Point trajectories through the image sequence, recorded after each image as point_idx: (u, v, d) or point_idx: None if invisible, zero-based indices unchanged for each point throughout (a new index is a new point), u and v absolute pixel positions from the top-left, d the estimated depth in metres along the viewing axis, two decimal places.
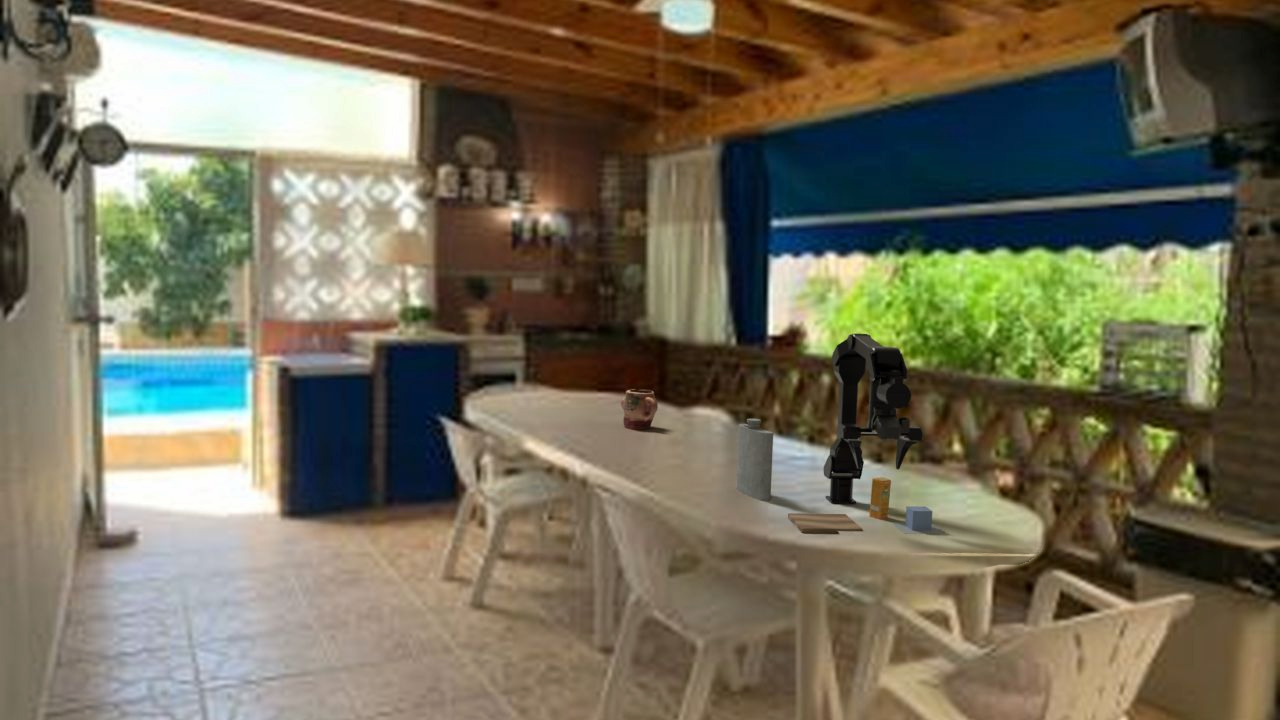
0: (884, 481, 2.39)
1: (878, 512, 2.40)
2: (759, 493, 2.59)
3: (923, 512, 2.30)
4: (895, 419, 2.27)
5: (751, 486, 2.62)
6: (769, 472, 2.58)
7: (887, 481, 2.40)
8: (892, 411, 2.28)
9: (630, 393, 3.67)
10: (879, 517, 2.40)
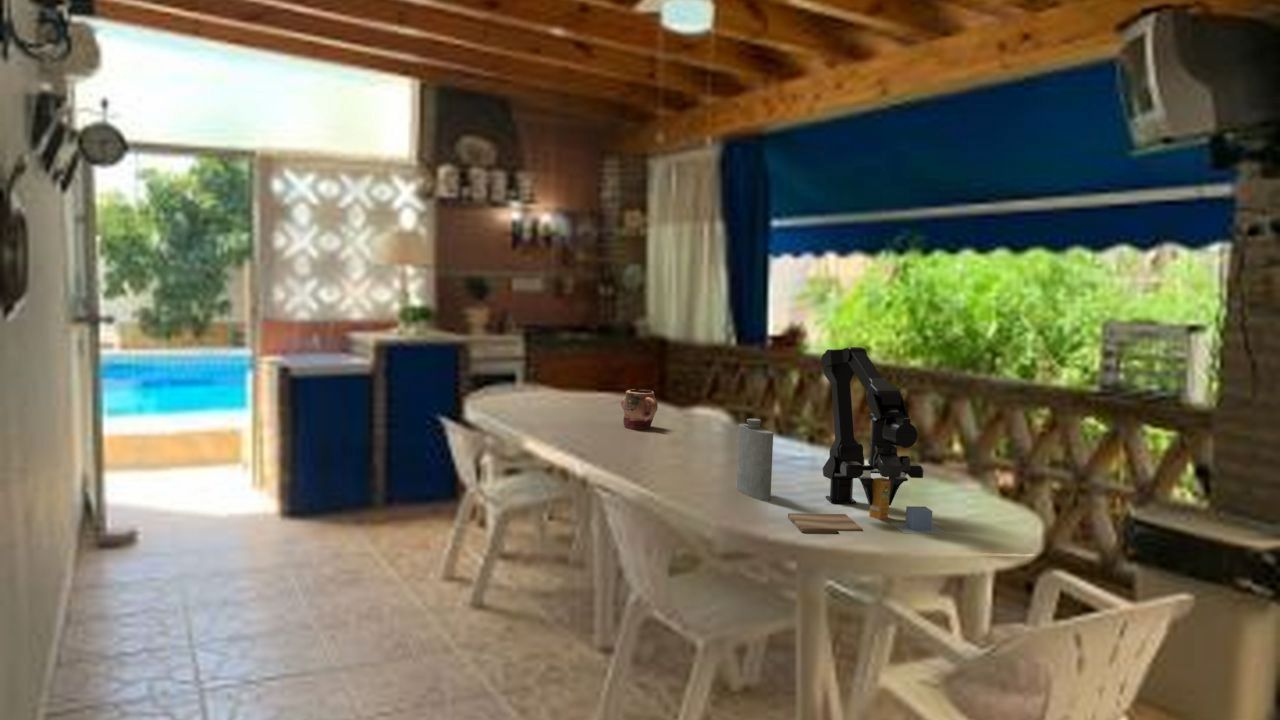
0: (884, 481, 2.39)
1: (878, 512, 2.40)
2: (759, 493, 2.59)
3: (923, 512, 2.30)
4: (896, 457, 2.35)
5: (751, 486, 2.62)
6: (769, 472, 2.58)
7: (887, 481, 2.40)
8: (893, 450, 2.37)
9: (630, 393, 3.67)
10: (879, 517, 2.40)
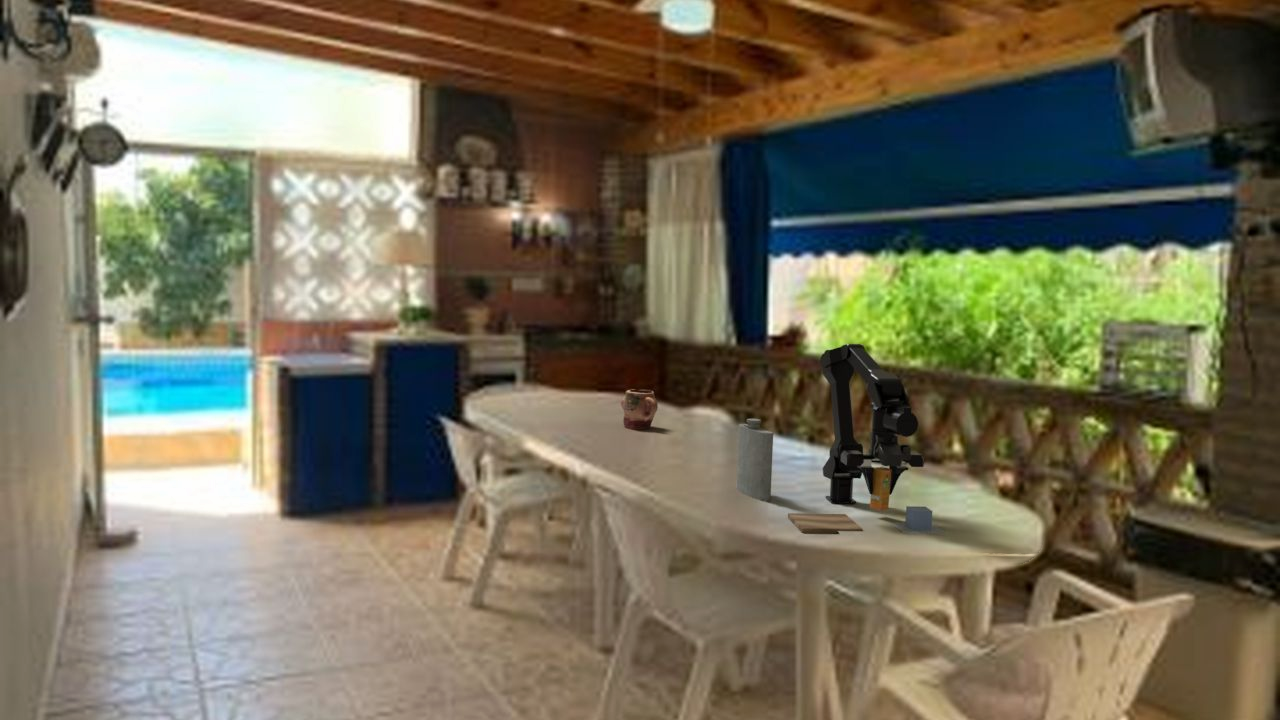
0: (885, 470, 2.39)
1: (878, 501, 2.40)
2: (759, 493, 2.59)
3: (923, 512, 2.30)
4: (897, 446, 2.35)
5: (751, 486, 2.62)
6: (769, 472, 2.58)
7: (888, 470, 2.39)
8: (894, 439, 2.37)
9: (630, 393, 3.67)
10: (880, 506, 2.40)
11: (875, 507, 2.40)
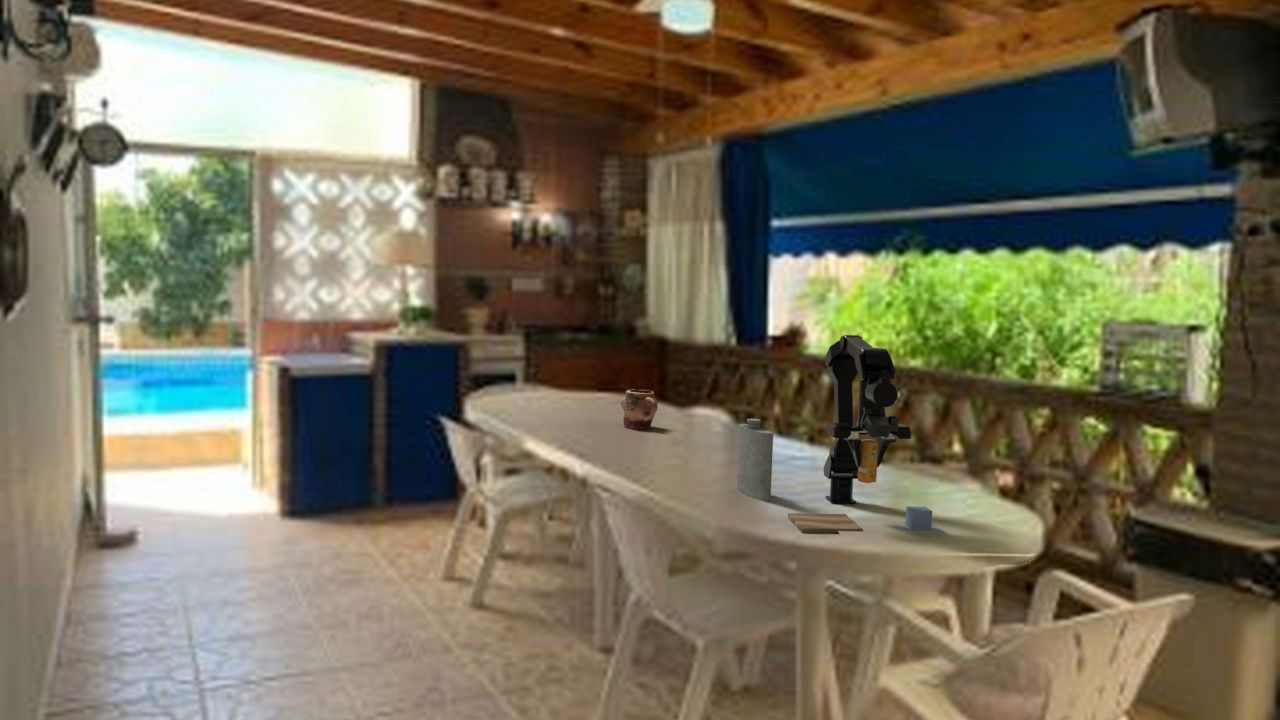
0: (872, 442, 2.36)
1: (866, 474, 2.37)
2: (759, 493, 2.59)
3: (923, 512, 2.30)
4: (884, 418, 2.33)
5: (751, 486, 2.62)
6: (769, 472, 2.58)
7: (875, 442, 2.37)
8: (881, 410, 2.34)
9: (630, 393, 3.67)
10: (867, 479, 2.37)
11: (863, 480, 2.38)
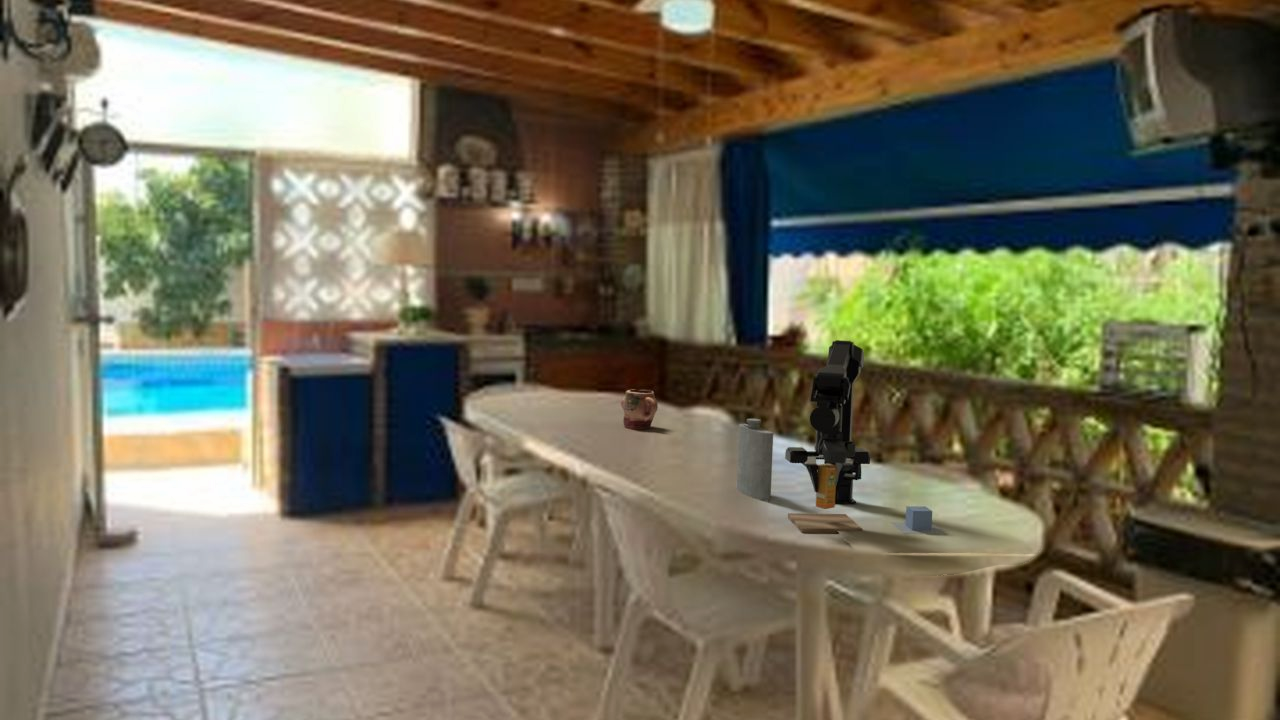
0: (829, 467, 2.32)
1: (824, 499, 2.32)
2: (759, 493, 2.59)
3: (923, 512, 2.30)
4: (841, 443, 2.28)
5: (751, 486, 2.62)
6: (769, 472, 2.58)
7: (833, 467, 2.32)
8: (838, 435, 2.30)
9: (630, 393, 3.67)
10: (825, 505, 2.32)
11: (821, 506, 2.33)
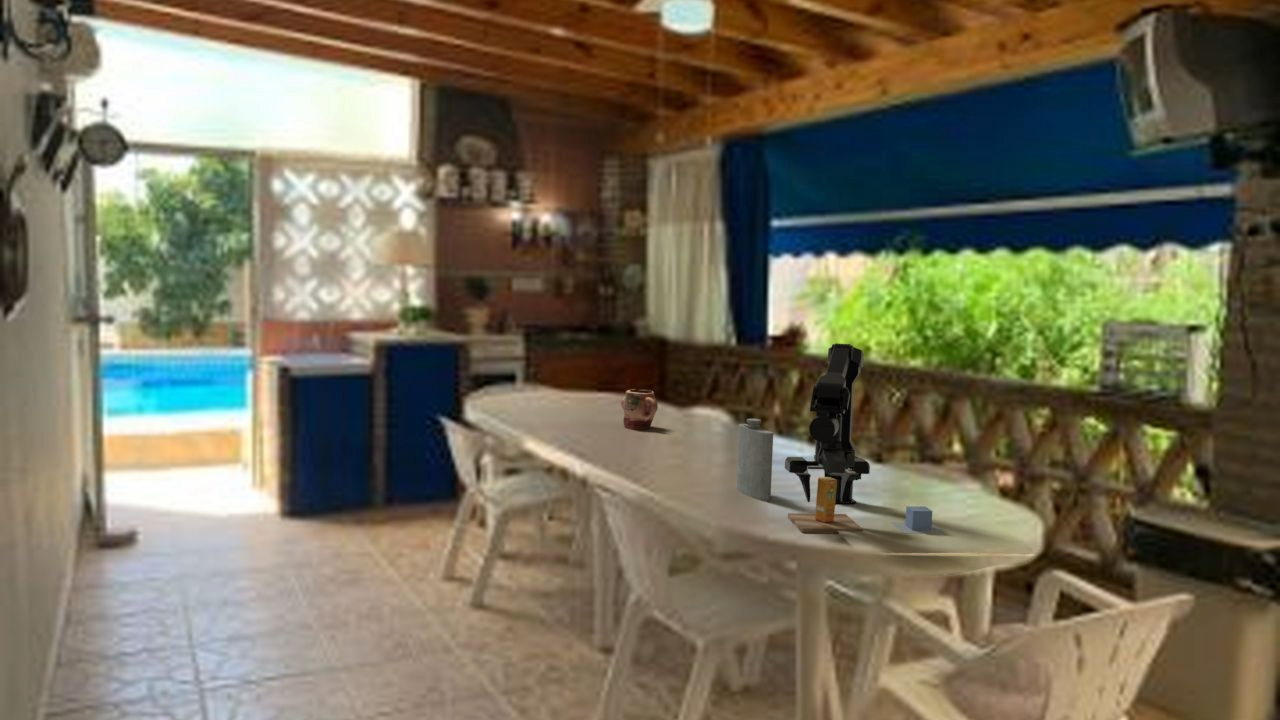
0: (829, 481, 2.32)
1: (823, 512, 2.33)
2: (759, 493, 2.59)
3: (923, 512, 2.30)
4: (841, 453, 2.28)
5: (751, 486, 2.62)
6: (769, 472, 2.58)
7: (833, 481, 2.33)
8: (838, 445, 2.30)
9: (630, 393, 3.67)
10: (824, 518, 2.33)
11: (820, 519, 2.34)
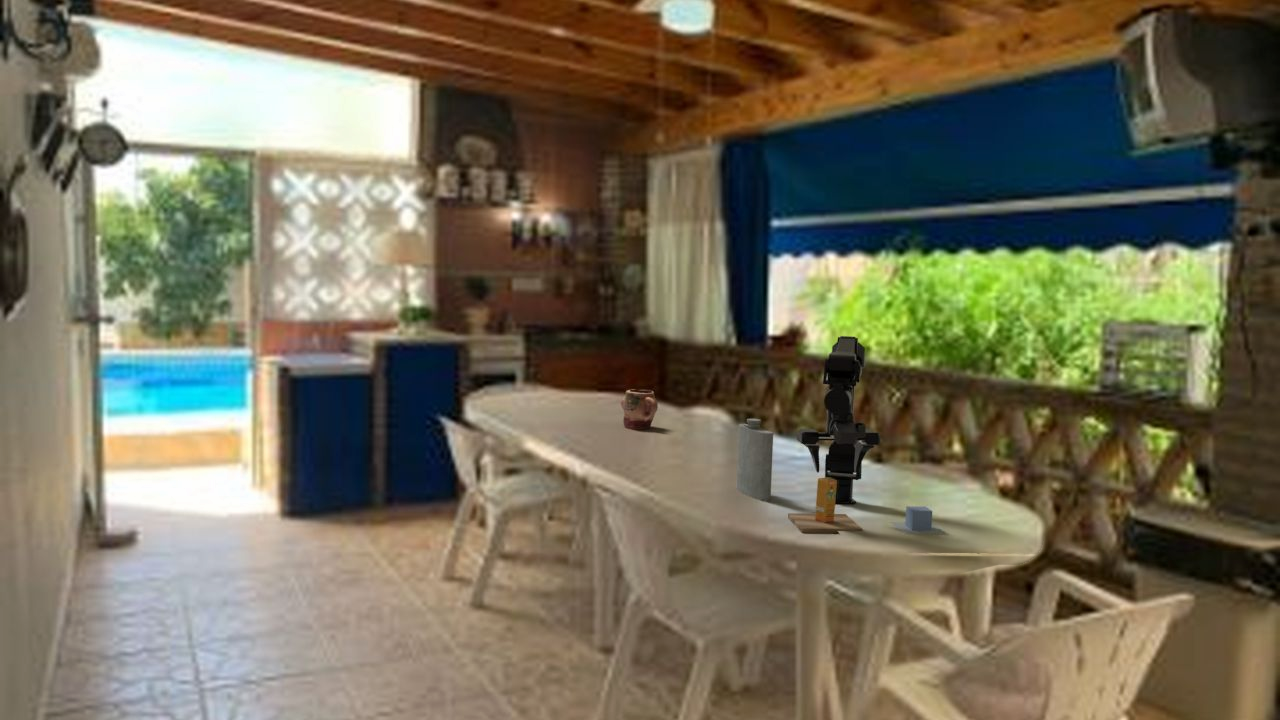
0: (829, 481, 2.32)
1: (823, 513, 2.33)
2: (759, 493, 2.59)
3: (923, 512, 2.30)
4: (852, 424, 2.33)
5: (751, 486, 2.62)
6: (769, 472, 2.58)
7: (832, 481, 2.32)
8: (849, 416, 2.35)
9: (630, 393, 3.67)
10: (824, 518, 2.33)
11: (820, 519, 2.34)
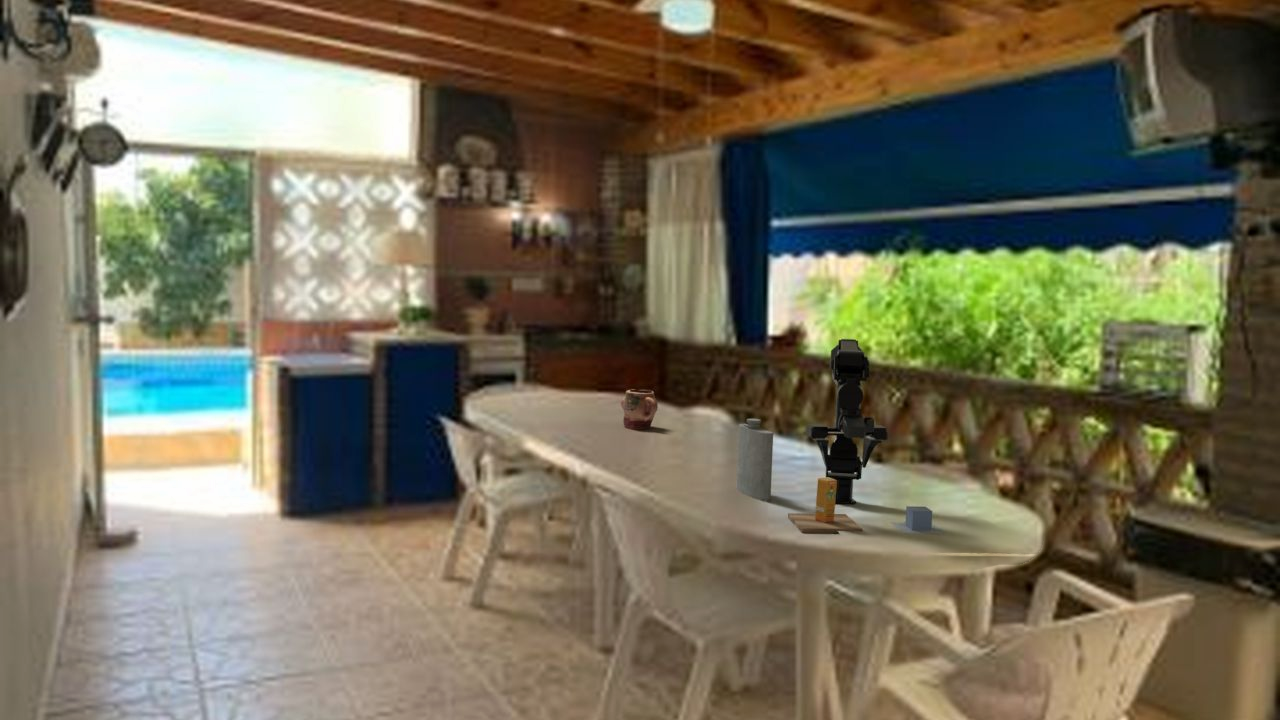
0: (829, 481, 2.32)
1: (823, 513, 2.33)
2: (759, 493, 2.59)
3: (923, 512, 2.30)
4: (861, 419, 2.37)
5: (751, 486, 2.62)
6: (769, 472, 2.58)
7: (832, 481, 2.32)
8: (858, 411, 2.39)
9: (630, 393, 3.67)
10: (824, 518, 2.33)
11: (820, 519, 2.34)
